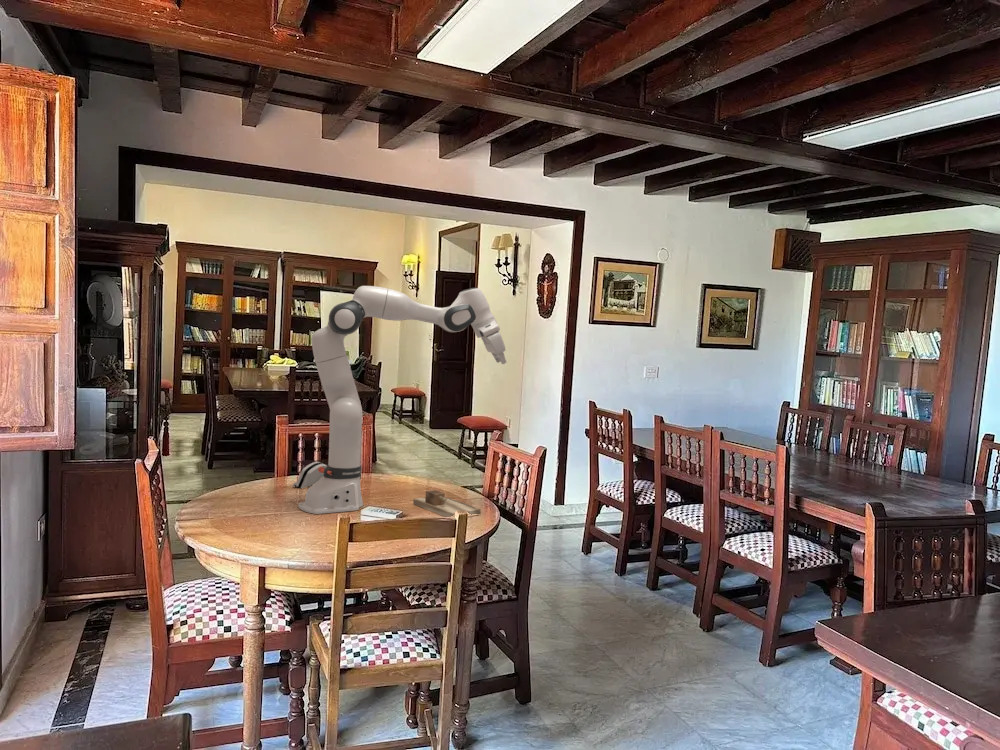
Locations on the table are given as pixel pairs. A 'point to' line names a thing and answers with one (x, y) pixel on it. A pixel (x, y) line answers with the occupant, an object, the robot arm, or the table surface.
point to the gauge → (435, 497)
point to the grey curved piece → (310, 475)
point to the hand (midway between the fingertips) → (501, 362)
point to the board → (446, 507)
